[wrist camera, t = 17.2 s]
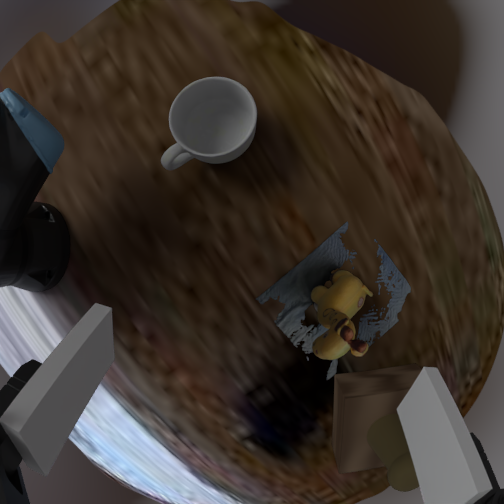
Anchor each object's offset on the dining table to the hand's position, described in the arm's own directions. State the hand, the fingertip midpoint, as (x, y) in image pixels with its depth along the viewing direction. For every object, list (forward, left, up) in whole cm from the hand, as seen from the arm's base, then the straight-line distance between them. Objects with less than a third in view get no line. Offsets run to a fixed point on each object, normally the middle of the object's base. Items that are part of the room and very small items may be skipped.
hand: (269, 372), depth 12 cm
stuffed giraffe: (+9, -4, -32) cm, 34 cm away
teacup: (-7, +20, -32) cm, 38 cm away
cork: (+14, -21, -24) cm, 35 cm away
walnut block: (+15, -21, -32) cm, 41 cm away
